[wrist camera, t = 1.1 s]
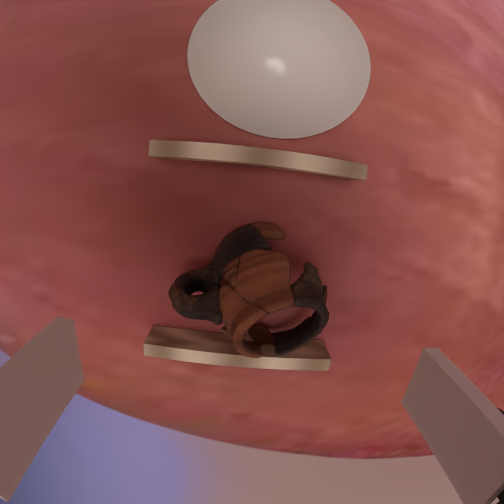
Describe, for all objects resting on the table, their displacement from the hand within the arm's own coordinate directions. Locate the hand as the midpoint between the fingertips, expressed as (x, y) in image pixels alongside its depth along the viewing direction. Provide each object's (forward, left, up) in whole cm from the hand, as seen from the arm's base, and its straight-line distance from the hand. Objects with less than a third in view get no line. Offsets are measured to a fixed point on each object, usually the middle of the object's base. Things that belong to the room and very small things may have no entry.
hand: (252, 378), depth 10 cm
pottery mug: (0, -1, -18) cm, 18 cm away
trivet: (-18, +1, -17) cm, 25 cm away
